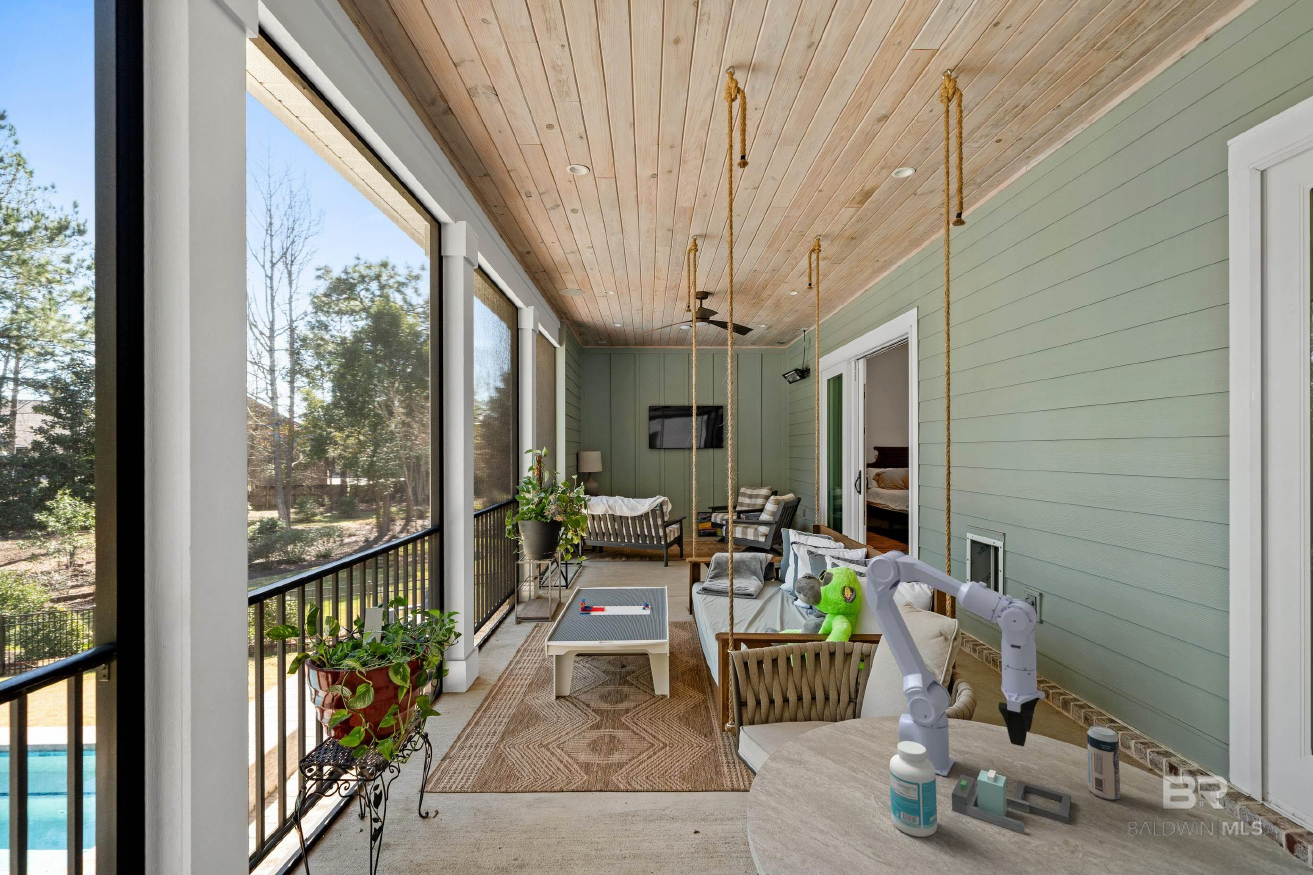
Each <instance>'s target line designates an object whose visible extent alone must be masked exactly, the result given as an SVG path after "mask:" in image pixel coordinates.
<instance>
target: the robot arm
mask: <svg viewBox="0 0 1313 875" xmlns="http://www.w3.org/2000/svg"><path fill="white" fill-rule="evenodd" d="M864 573H865V576H866V588H865V598H866V601H867V603H868V606H869V608H870V610H871V611H872V614H873V617H874V618H875V620H876V623H877V624H878V627H879V629H880V631H881V633H882V635H883V638H884V640H885V642H886V644H887V646H888V648H889V650H890V652H891V654H892V656H893V658H894V660H895V663H896V664H897V667H898V668H899V672H900V674H901V675H902V678H903V693H904V696H905V697H906V703H907V704H906V708H907V712H908V713H905V712H904V713H902V714H901V715H900V717H899V721H898V732H897V733H898V736H897V737H898V743H900V742H903V741H911V742H916V743H919V744H921V745H923V746H924V747H925V748H926V754H927V757H926V759H928V760H929V761H930V762H931V763H932V764H933V766H934V768H935V773H936V774H937V775H940V776H944V777H947V776H948V775H949V773H950V772H951V769H952V767H953V766H954V764H955V762H956V761H955V760H956V759H955V758H953V757H951V756H950V741H949V740H950V735H949V734H950V733H949V727H950V726H949V718H948V717H947V714H946V711H947V710H949V707H950V705H951V700H952V699H951V696H950V693H949V691H948V689H947V688H946V687H945V686H944V685H942V683H941V682H940V681H939V680H938V678H937V676H936V674H935V673H934V672H933V671H931V670H930V669H929V668H928V667H927V665H926V663H925V661H924V659H923V657H922V654H921V653H920V651H919V649H918V646H917V645H916V643H915V640H914V639H913V636H912V635H911V632H910V630H909V628H908V626H907V624H906V622H905V620H904V618H903V615H902V614H901V611H900V610H899V607H898V605H897V604H896V602H895V600H894V596H895V594H896V592H897V589H898V587H899V585H900V584H901V583H907V582H908V583H910V582H920V583H921V584H924V585H927V586H929V587H931V588H933V589H936V590H938V591H941V592H943V593H945V594H948V595H949V596H952V597H954V598H956V600H958V603H959V604H960V606H961V608H964V609H965V610H968V611H969V612H971V613H973V614H976V615H977V616H980V617H982V618H983V619H985V620H988V621H990V622H991V623H994V624H997V625H998V626H999V628H1000V629H1001V639H1000V645H1001V647H1000V648H1001V649H1000V650H1001V680H1002V681H1001V685H1000V690H1001V691H1002V693H1003V695H1004V696H1005V698H1006V702H1001V701H999V703H998V708H997V709H998V711H999V712H1000V714H1001V716H1002V718H1003V720H1004V722H1005V726H1006V730H1007V734H1008V738H1009V741H1010V744H1012V745H1014V746H1015V745H1016V746H1018V747H1019V746H1020V747H1022V748H1023V747H1024V746H1025V743H1026V741H1027V735H1028V733H1027V732H1030V731H1031V729H1032V724H1033V720H1034V713H1035V709H1036V707H1037V706H1036V705H1037V703H1038V702H1039V700H1040V699H1044V698H1045V691H1042V690H1038V679H1037V653H1036V652H1037V646H1036V645H1037V644H1036V642H1035V641H1036V640H1035V639H1036V635H1035V634H1036V633H1035V629H1034V626H1035V625H1036V623H1037V619H1038V616H1037V615H1038V614H1037V611H1036V610H1035V609H1034V606H1032V605H1031V604H1030V603H1028V602H1026V601H1025V600H1024V599H1022V598H1013V596H1012V595H1010V594H1006V595H1004V594H1003V593H1000V592H998V591H995V590H993V589H991V588H989V587H987V585H988V584H987V583H985V582H983V581H979V582H976V581H975V580H973V581H969V582H965V583H964V582H962V581H960V580H958V579H956V578H954V577H953V576H950V575H948V574H946V573H944V571H941V570H939V569H937V568H935V567H933V566H931V565H929V564H927V563H925V562H923V561H922V560H920V559H918V558H917V557H914V555H913V556H912V555H909V554H905V553H904V552H902V551H900V550H890V551H888V552H886V553H884V554H881V555H877V556H874V557H872V558H871V560H870V561H869V563H868V565H867V567H866V568H865V570H864Z"/></svg>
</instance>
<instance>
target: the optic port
mask: <svg viewBox="0 0 1313 875" xmlns="http://www.w3.org/2000/svg"><path fill="white" fill-rule="evenodd" d="M1006 796H1007V808H1010V809H1014V810H1017V811H1020V812H1023V813H1025V814H1030V813H1031V812H1030V803H1028V802H1029V801H1028V802H1024V801H1025V800H1024V801H1021V800H1018V799H1015V798H1013V797H1011V796H1009V795H1006ZM951 810H952V811H954V812H957V813H960V814H964V815H966V816H969V817H972V818H975V819H978V820H980V821H983V822H987V823H990V824H993V825H996V826H999V827H1002V828H1004V829H1007V830H1010V831H1014V832H1017V833H1019V834H1022V835H1024V834H1025V822H1023V821H1020V820H1016V819H1013V818H1011V817H1008V816H1006V815H1005V816H1002V815H999V814H996V813H992V812H989V811H986V810H983V809H980V808H978V792H977V786H976V778H975V777H971V776H968V775H965V774H962V773H961V774H960V776H959V778H958V780H957V782H956V784H955V786H954V788H953V790H952V792H951Z"/></svg>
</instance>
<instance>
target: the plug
mask: <svg viewBox="0 0 1313 875" xmlns="http://www.w3.org/2000/svg"><path fill="white" fill-rule="evenodd" d="M976 781H977V782H976V783H977V784H976V785H977V786H976V787H977V792H978V803H977V808H980V809H983V810H986V811H989V812H992V813H996V814H999V815H1002V816H1005V817H1006V815H1007V809H1008V807H1007V796H1008V795H1007V776H1004V775H1001V774H998V773H997V771H996V770H993V769H989V771H986V770H983V769H981V770H980V772H979V774H978V776H977V779H976Z"/></svg>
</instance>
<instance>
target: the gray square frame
mask: <svg viewBox="0 0 1313 875" xmlns="http://www.w3.org/2000/svg"><path fill="white" fill-rule="evenodd" d="M1025 793H1029V794H1033V795H1036V796H1039V797H1043V798H1046V799H1049V800H1053V801H1057V802H1059V803H1061V805H1060V810H1056V809H1054V808H1050V807H1047V806H1043V805H1041V804H1037V803H1035V802H1030V801H1027V800H1023V799H1024V796H1025ZM1012 798H1015V799H1018V800H1021V801H1024V802H1028V803H1030V813H1031V814H1034V815H1037V816H1041V817H1043V818H1047V819H1050V820H1052V821H1057V822H1059V823H1064V824H1067V825H1069V819H1070V812H1071V806H1072V794H1067V793H1065V792H1060V791H1057V790H1053V789H1050V788H1047V787H1043V786H1041V785H1037V784H1033V783H1030V782H1026V781H1023V780H1019V779H1018V780H1017V784H1016V787H1015V791H1014V794H1013V797H1012Z"/></svg>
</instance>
